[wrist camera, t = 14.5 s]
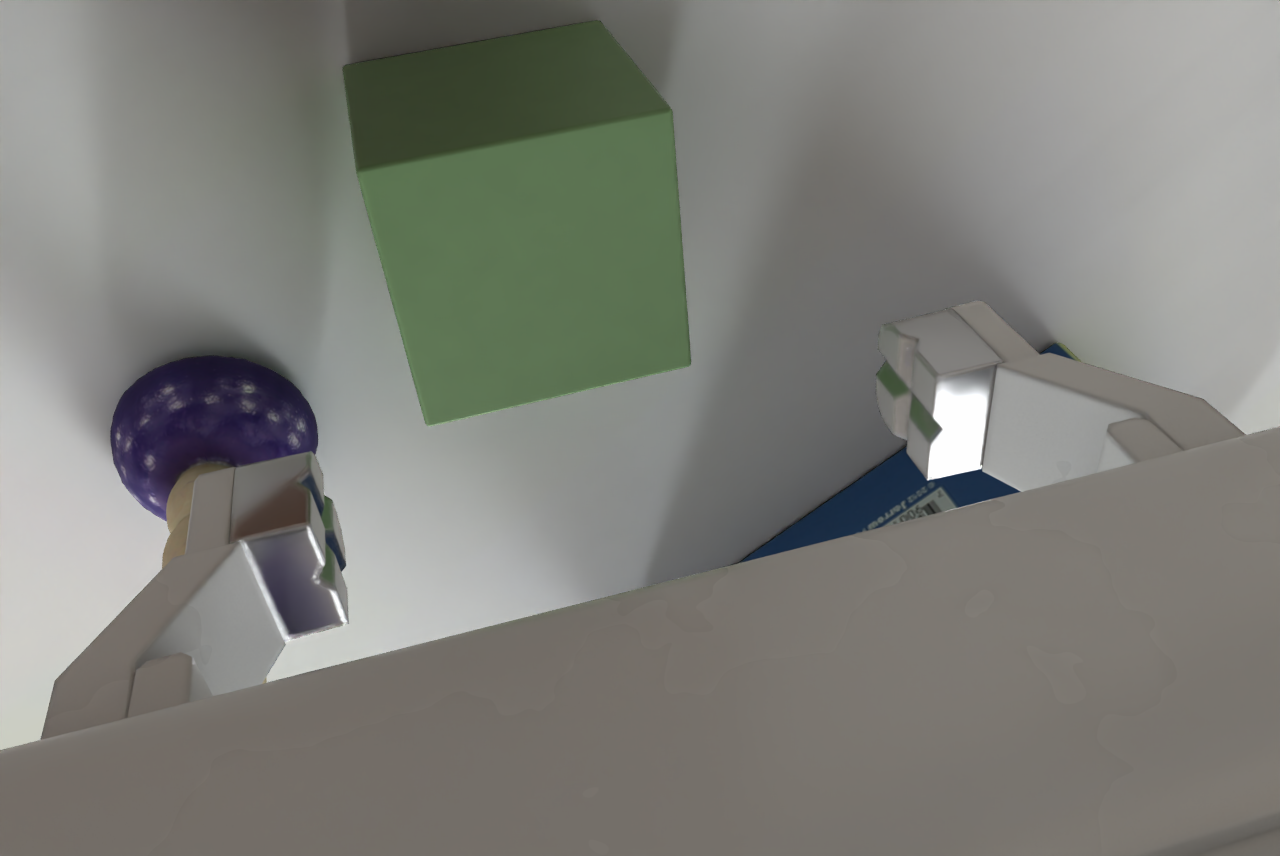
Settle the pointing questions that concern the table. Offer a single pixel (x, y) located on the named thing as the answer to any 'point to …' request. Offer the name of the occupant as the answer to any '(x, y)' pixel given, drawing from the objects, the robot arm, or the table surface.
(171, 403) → the toy lamp
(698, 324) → the table surface
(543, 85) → the green toy block
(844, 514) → the protein box
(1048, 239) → the table surface
